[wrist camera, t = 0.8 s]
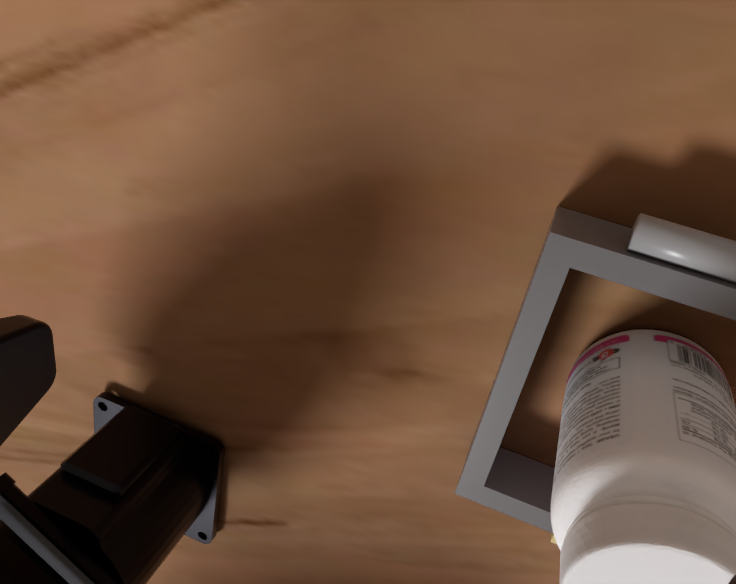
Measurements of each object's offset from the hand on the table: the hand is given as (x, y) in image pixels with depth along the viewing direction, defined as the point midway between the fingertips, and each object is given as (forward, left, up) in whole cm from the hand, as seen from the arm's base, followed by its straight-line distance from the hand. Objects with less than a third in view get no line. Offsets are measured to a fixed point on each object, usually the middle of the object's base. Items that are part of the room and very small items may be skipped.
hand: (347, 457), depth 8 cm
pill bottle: (-5, -6, -13) cm, 16 cm away
